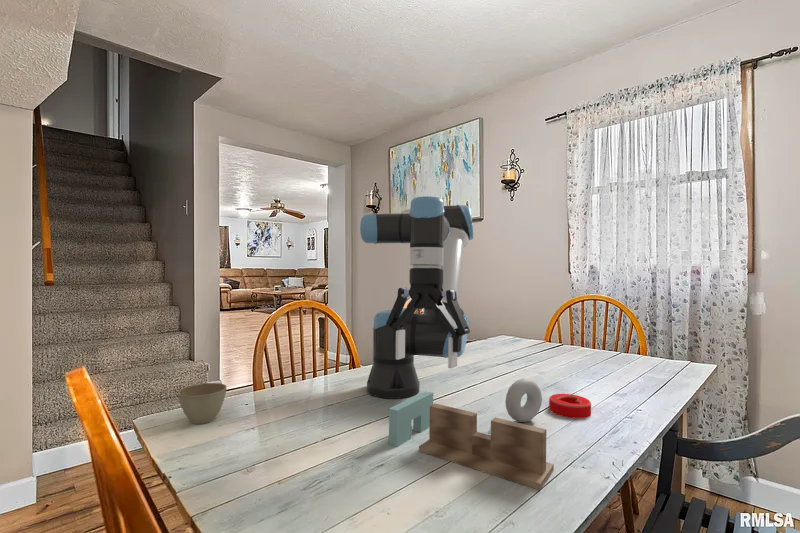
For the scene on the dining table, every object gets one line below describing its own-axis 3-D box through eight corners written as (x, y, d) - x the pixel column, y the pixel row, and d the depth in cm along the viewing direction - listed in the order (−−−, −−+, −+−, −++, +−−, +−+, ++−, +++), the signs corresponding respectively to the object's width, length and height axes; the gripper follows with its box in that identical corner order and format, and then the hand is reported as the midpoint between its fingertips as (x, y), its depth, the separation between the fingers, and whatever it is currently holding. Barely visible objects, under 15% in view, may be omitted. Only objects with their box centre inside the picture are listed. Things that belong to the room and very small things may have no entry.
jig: (419, 451, 78) (419, 409, 78) (439, 437, 85) (439, 398, 85) (540, 490, 65) (540, 440, 65) (553, 469, 72) (554, 424, 72)
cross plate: (397, 447, 80) (397, 410, 80) (388, 444, 81) (389, 408, 81) (433, 424, 91) (433, 392, 91) (425, 422, 93) (425, 391, 93)
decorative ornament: (541, 406, 105) (541, 394, 105) (575, 404, 107) (575, 392, 107) (563, 420, 96) (563, 406, 96) (600, 417, 97) (600, 404, 97)
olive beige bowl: (216, 409, 100) (217, 380, 100) (233, 420, 93) (233, 389, 93) (171, 419, 93) (172, 388, 93) (186, 432, 86) (186, 398, 86)
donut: (512, 428, 90) (512, 383, 90) (501, 422, 93) (502, 379, 93) (545, 420, 94) (545, 377, 94) (533, 415, 98) (534, 374, 98)
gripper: (372, 266, 94) (371, 357, 94) (470, 267, 80) (469, 375, 80) (391, 266, 101) (390, 352, 100) (485, 267, 86) (484, 367, 86)
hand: (425, 362), depth 90 cm, fingers open, 13 cm apart
